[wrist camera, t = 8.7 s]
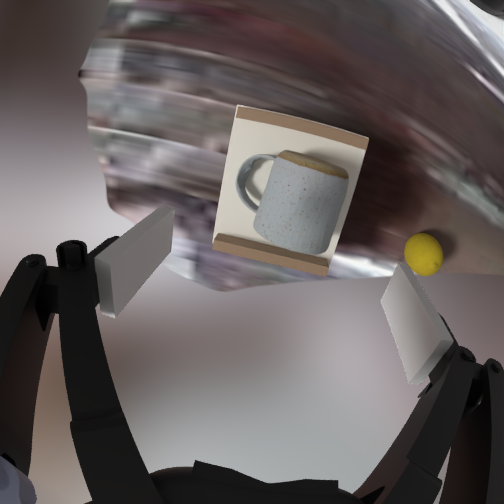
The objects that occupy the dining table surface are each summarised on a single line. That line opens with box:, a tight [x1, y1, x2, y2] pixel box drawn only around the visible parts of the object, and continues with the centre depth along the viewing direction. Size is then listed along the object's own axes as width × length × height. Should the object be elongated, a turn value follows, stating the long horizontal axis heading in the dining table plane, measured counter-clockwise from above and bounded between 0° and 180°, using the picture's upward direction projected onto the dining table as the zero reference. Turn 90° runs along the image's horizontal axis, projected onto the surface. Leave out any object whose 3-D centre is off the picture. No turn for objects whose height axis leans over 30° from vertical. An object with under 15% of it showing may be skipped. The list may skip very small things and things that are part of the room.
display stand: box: [212, 105, 369, 276], centre depth 33 cm, size 14×16×10 cm
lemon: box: [404, 233, 443, 276], centre depth 35 cm, size 6×6×8 cm
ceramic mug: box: [235, 150, 349, 255], centre depth 26 cm, size 11×8×8 cm
